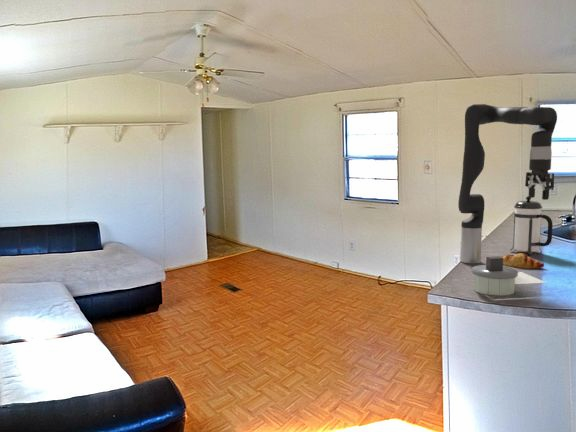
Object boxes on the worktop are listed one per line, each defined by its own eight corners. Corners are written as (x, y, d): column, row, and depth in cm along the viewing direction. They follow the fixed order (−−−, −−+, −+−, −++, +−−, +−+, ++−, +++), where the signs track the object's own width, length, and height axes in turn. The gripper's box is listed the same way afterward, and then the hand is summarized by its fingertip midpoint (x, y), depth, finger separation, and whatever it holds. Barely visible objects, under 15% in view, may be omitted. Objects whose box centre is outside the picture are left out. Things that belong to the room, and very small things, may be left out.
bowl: (467, 286, 173) (467, 269, 172) (500, 284, 174) (501, 267, 173) (485, 297, 160) (486, 279, 159) (522, 295, 161) (522, 277, 160)
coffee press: (512, 255, 223) (515, 197, 218) (508, 249, 238) (510, 194, 233) (551, 257, 217) (554, 197, 213) (543, 250, 232) (546, 194, 228)
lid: (464, 268, 173) (464, 253, 173) (502, 267, 175) (502, 252, 174) (485, 280, 158) (485, 263, 157) (527, 277, 159) (527, 261, 158)
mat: (486, 275, 188) (486, 273, 188) (521, 273, 190) (521, 272, 190) (508, 285, 173) (508, 284, 172) (546, 283, 174) (546, 282, 174)
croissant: (492, 271, 207) (489, 258, 204) (499, 258, 213) (496, 245, 210) (542, 278, 193) (540, 264, 189) (547, 263, 198) (546, 250, 195)
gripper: (520, 158, 180) (518, 197, 182) (543, 158, 165) (540, 200, 168) (537, 157, 180) (535, 196, 182) (561, 158, 166) (559, 199, 168)
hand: (538, 198), depth 175 cm, fingers open, 8 cm apart
